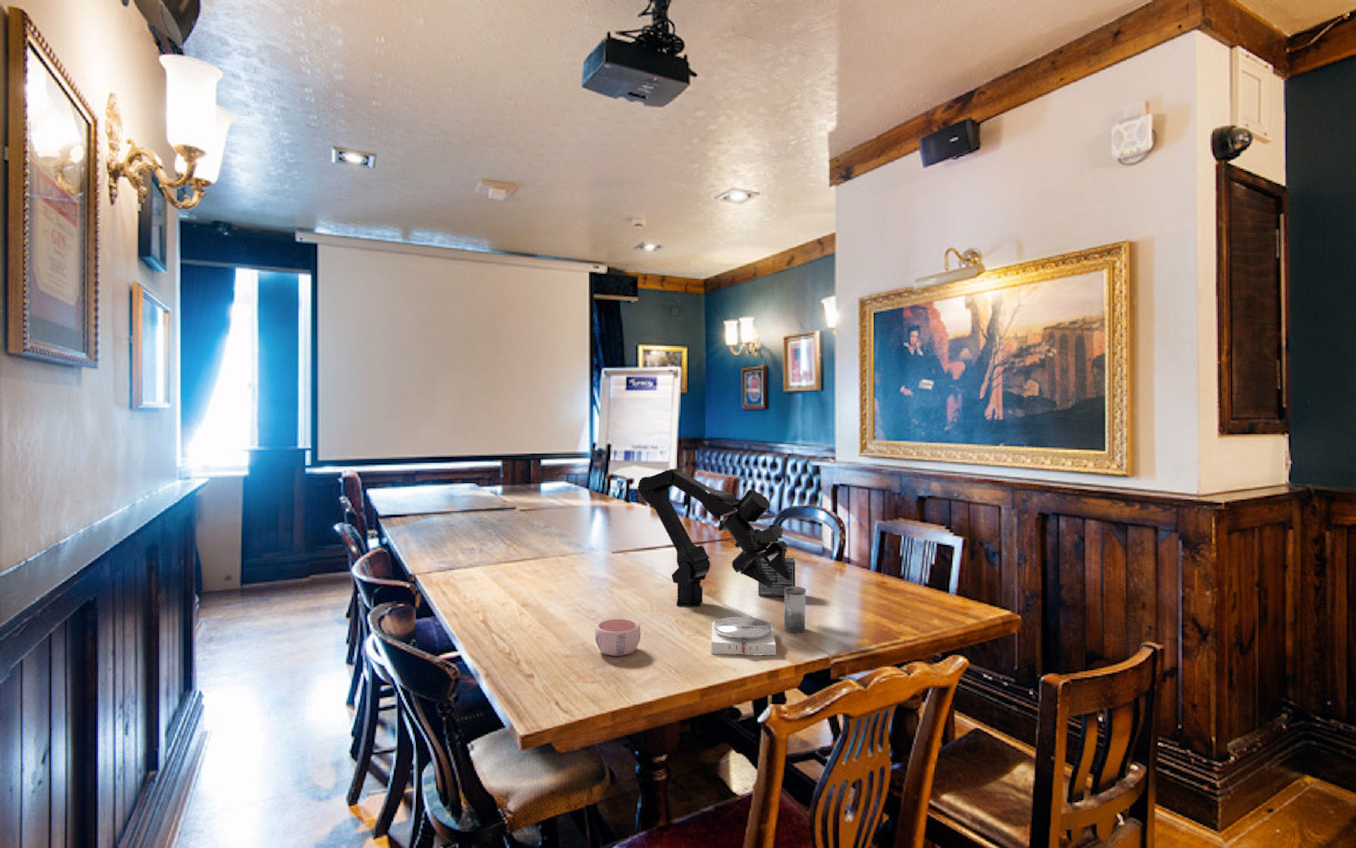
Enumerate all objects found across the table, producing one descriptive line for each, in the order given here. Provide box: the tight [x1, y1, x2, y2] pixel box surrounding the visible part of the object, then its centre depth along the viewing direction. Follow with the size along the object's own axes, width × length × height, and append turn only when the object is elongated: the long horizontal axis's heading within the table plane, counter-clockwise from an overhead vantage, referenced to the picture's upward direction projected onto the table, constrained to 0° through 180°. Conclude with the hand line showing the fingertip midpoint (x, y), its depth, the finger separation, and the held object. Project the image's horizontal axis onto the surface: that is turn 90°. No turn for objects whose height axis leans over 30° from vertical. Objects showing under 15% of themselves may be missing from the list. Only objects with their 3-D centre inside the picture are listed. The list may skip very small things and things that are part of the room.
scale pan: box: [714, 616, 772, 653], centre depth 148 cm, size 13×14×4 cm
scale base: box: [710, 621, 777, 656], centre depth 149 cm, size 14×14×2 cm
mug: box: [594, 618, 641, 657], centre depth 144 cm, size 12×10×6 cm
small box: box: [757, 557, 796, 598], centre depth 190 cm, size 11×6×10 cm, turn 84°
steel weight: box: [783, 585, 807, 634], centre depth 159 cm, size 5×5×10 cm
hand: (780, 583), depth 161 cm, fingers open, 9 cm apart
